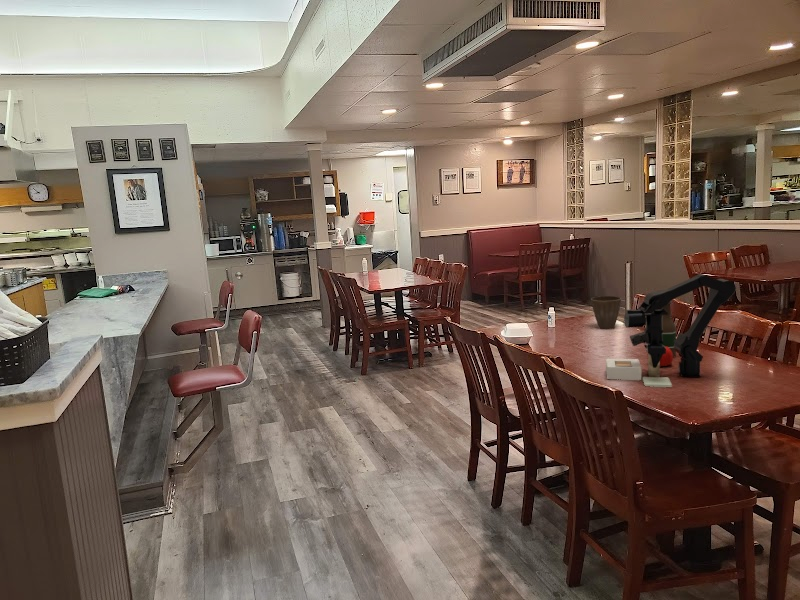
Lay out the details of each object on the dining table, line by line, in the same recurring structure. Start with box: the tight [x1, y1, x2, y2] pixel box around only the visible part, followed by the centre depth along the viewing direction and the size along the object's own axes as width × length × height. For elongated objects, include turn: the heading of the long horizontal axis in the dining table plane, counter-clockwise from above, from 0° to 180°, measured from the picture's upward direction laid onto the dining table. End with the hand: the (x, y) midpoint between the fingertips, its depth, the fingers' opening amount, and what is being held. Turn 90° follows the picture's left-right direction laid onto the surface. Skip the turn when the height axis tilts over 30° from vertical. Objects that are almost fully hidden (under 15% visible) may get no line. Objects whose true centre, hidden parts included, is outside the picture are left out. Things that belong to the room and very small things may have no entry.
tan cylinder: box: [647, 353, 661, 377], centre depth 217 cm, size 4×4×10 cm
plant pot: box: [590, 295, 622, 330], centre depth 301 cm, size 15×15×16 cm
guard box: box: [605, 358, 642, 381], centre depth 220 cm, size 12×12×5 cm
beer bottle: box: [662, 301, 677, 358], centre depth 241 cm, size 8×8×24 cm
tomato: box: [660, 346, 674, 367], centre depth 231 cm, size 9×9×8 cm
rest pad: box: [641, 376, 673, 388], centre depth 209 cm, size 9×9×1 cm
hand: (653, 366), depth 217 cm, fingers closed on tan cylinder, 4 cm apart
